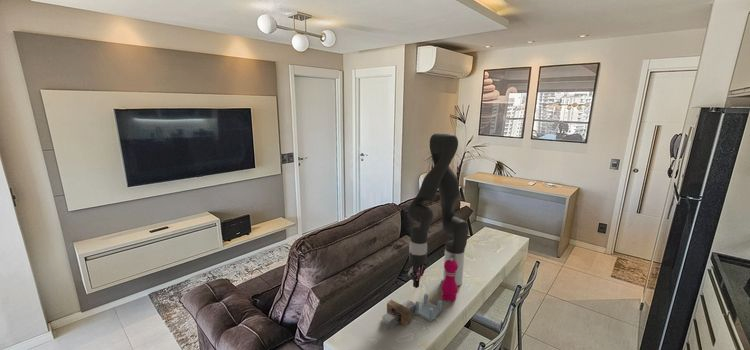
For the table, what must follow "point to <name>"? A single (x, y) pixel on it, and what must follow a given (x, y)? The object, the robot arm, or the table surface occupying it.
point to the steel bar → (396, 315)
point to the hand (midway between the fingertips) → (416, 286)
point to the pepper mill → (449, 280)
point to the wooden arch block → (404, 311)
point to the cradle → (428, 309)
